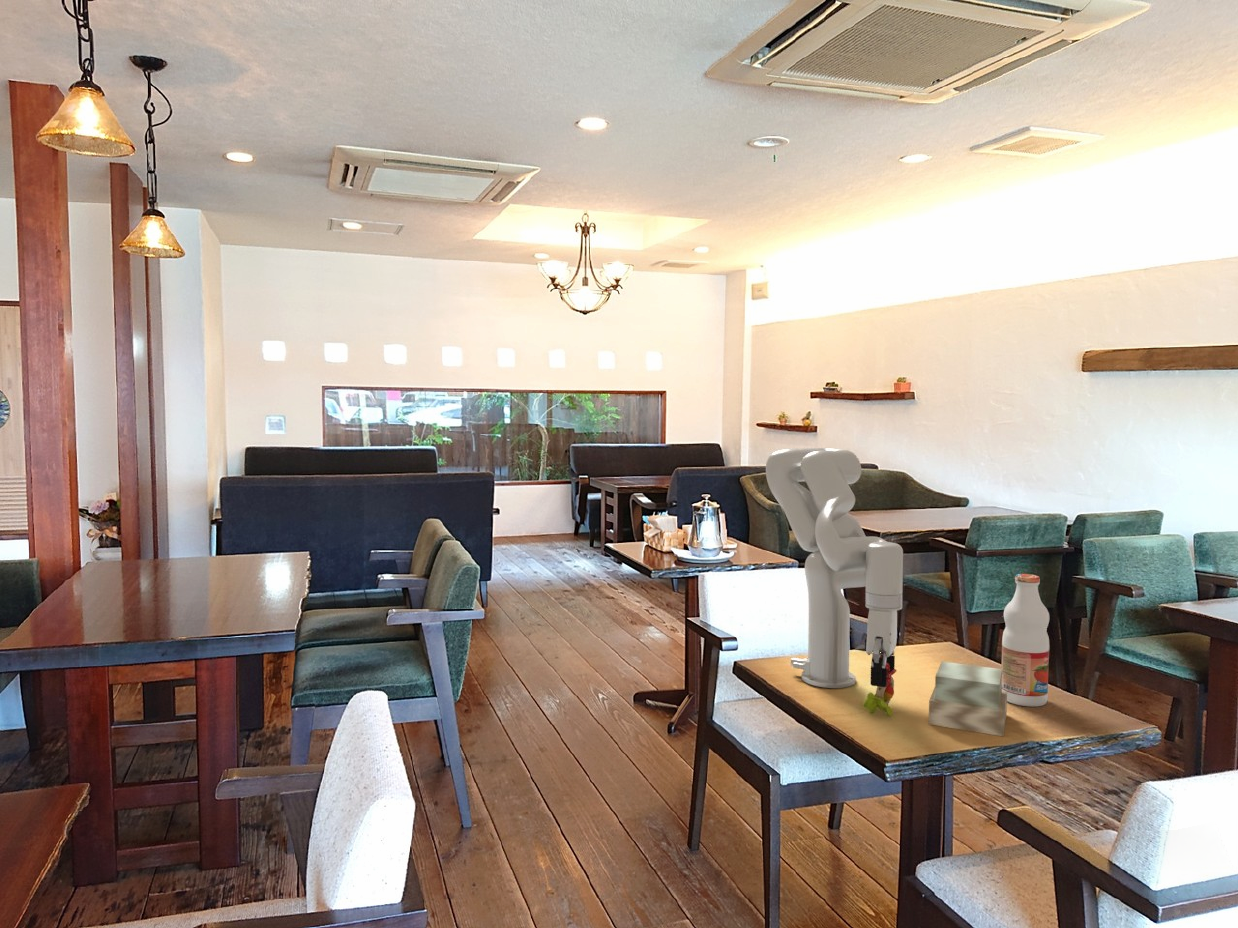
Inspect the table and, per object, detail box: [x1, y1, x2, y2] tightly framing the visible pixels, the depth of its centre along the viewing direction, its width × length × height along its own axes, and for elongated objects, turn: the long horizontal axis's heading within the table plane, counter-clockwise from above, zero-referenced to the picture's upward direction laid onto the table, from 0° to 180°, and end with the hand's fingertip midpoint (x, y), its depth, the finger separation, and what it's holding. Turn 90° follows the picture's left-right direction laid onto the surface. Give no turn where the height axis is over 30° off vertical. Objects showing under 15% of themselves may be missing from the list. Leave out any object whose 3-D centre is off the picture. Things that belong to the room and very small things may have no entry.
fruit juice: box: [1000, 573, 1050, 708], centre depth 186 cm, size 9×9×28 cm
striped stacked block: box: [928, 661, 1008, 737], centre depth 175 cm, size 14×13×10 cm
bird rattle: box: [861, 663, 897, 716], centre depth 180 cm, size 6×11×9 cm
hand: (882, 679), depth 180 cm, fingers open, 9 cm apart
